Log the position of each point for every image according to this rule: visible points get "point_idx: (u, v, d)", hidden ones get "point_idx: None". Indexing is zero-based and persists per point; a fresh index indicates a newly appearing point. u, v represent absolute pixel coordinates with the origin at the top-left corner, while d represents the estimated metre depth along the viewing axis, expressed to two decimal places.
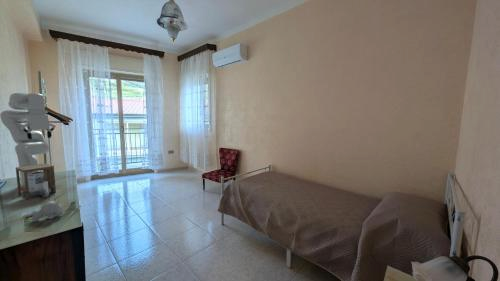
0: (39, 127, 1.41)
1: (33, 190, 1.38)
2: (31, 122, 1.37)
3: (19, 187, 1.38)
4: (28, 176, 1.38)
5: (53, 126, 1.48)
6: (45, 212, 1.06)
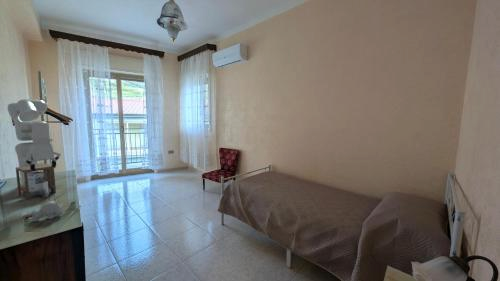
0: (43, 158, 1.31)
1: (33, 190, 1.38)
2: (34, 153, 1.27)
3: (19, 187, 1.38)
4: (28, 176, 1.38)
5: (58, 155, 1.39)
6: (45, 212, 1.06)
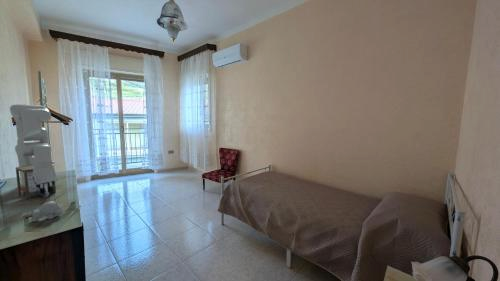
0: (45, 180, 1.33)
1: (33, 190, 1.38)
2: (37, 176, 1.29)
3: (19, 187, 1.38)
4: (28, 176, 1.38)
5: (55, 180, 1.39)
6: (45, 212, 1.06)
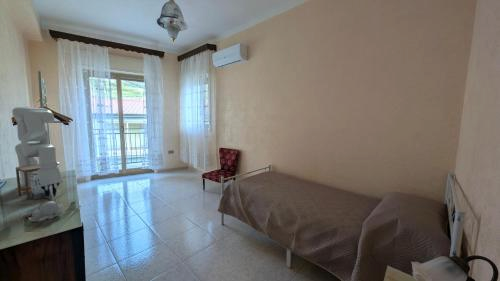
0: (50, 182, 1.30)
1: (34, 192, 1.35)
2: (42, 178, 1.26)
3: (19, 187, 1.38)
4: (30, 177, 1.35)
5: (60, 181, 1.35)
6: (45, 212, 1.06)
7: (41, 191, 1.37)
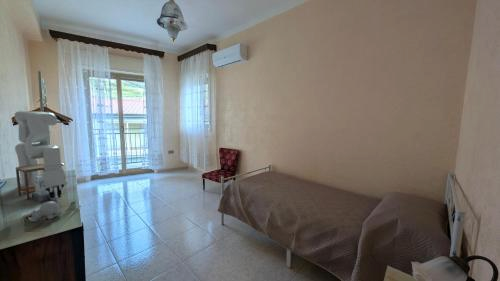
0: (55, 184, 1.27)
1: (38, 193, 1.32)
2: (46, 180, 1.23)
3: (19, 187, 1.38)
4: (34, 179, 1.33)
5: (65, 183, 1.33)
6: (45, 212, 1.06)
7: (45, 193, 1.34)
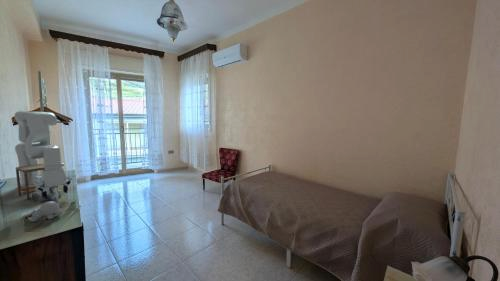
0: (55, 184, 1.27)
1: (38, 194, 1.32)
2: (46, 180, 1.23)
3: (19, 187, 1.38)
4: (34, 179, 1.33)
5: (69, 179, 1.34)
6: (44, 212, 1.06)
7: None
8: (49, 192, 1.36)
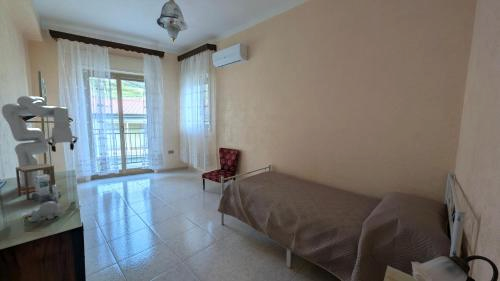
0: (63, 140, 1.43)
1: (38, 194, 1.32)
2: (56, 135, 1.40)
3: (19, 187, 1.38)
4: (34, 179, 1.33)
5: (76, 138, 1.51)
6: (44, 212, 1.06)
7: (45, 193, 1.34)
8: (49, 192, 1.36)
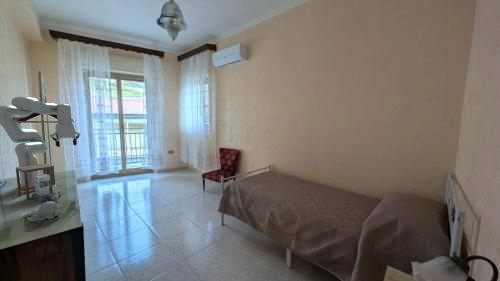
0: (66, 136, 1.50)
1: (38, 194, 1.32)
2: (59, 131, 1.46)
3: (19, 187, 1.38)
4: (34, 179, 1.33)
5: (78, 134, 1.57)
6: (44, 212, 1.06)
7: (45, 193, 1.34)
8: (49, 192, 1.36)
